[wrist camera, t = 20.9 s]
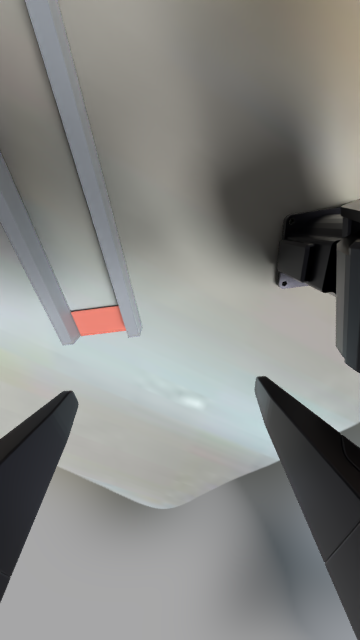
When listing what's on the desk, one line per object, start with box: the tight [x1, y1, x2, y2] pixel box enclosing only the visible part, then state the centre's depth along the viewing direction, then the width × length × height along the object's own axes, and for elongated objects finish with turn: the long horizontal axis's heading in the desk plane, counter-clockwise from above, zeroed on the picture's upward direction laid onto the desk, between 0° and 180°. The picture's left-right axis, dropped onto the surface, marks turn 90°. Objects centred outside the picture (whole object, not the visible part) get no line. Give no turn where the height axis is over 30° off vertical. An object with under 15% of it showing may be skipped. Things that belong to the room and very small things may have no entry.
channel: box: [0, 0, 142, 345], centre depth 15 cm, size 8×24×2 cm, turn 8°
